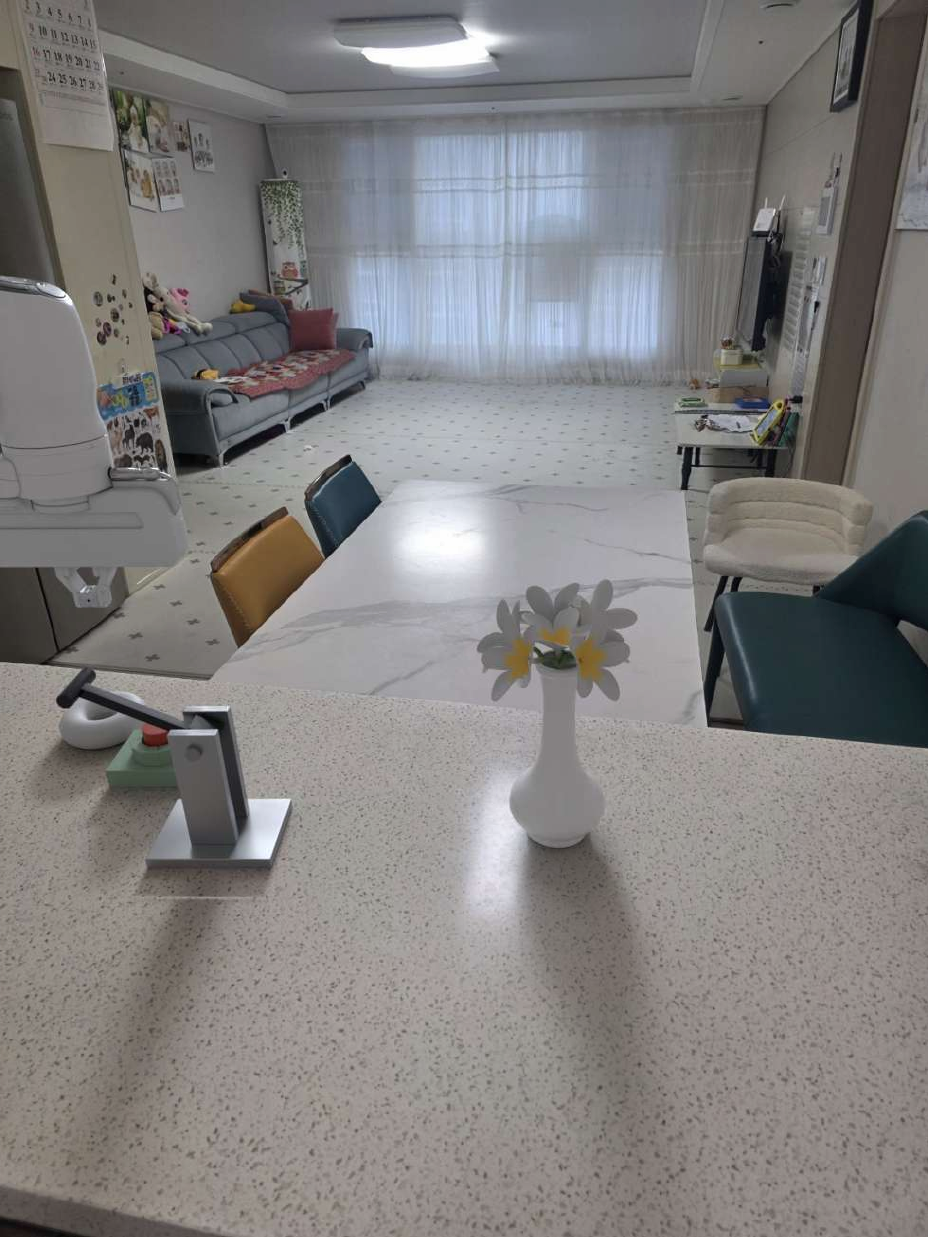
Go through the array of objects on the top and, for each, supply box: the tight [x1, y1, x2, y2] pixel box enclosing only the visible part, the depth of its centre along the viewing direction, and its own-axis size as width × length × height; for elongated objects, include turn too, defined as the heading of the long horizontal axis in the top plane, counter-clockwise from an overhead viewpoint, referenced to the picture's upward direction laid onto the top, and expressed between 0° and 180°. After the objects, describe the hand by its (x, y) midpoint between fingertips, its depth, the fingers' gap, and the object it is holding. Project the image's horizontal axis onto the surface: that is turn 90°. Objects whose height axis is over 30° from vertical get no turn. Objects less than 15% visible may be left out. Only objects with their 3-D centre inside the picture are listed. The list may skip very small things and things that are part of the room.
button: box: [142, 723, 169, 747], centre depth 91 cm, size 4×4×2 cm
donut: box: [58, 690, 147, 750], centre depth 99 cm, size 10×4×10 cm
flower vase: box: [476, 578, 639, 849], centre depth 77 cm, size 13×18×25 cm
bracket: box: [144, 705, 294, 870], centre depth 79 cm, size 12×9×14 cm
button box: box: [105, 728, 178, 788], centre depth 92 cm, size 10×8×4 cm
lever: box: [55, 667, 224, 738], centre depth 76 cm, size 14×5×2 cm, turn 89°
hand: (94, 605), depth 81 cm, fingers closed
